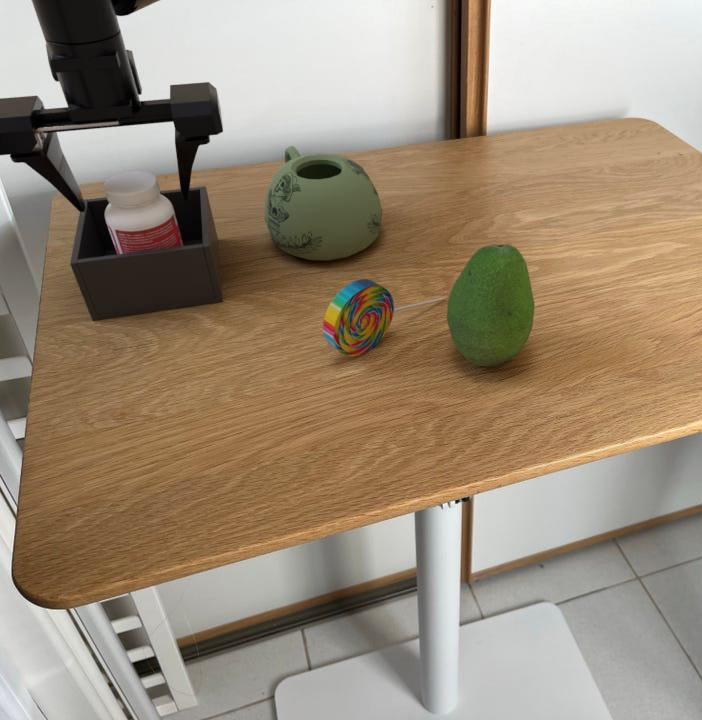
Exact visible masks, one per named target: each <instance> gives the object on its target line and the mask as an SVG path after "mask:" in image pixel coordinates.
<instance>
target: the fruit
mask: <svg viewBox="0 0 702 720" xmlns="http://www.w3.org/2000/svg"><path fill="white" fill-rule="evenodd" d="M446 310H447V312H446V322H447V326H448V329H449V333H450V337H451V339H452V342H453V345H454V346H455V347H456V348H457V350H458V351H459V352H460V353H461V355H462V356H463V357H464V358H465V359H466V360H467V361H468V362H470V363H471V364H473V365H475V366H478V367H487V368H488V367H489V368H490V367H497V366H499V365H501V364H504V363H507V362H508V361H511V360H513V359H514V358H515V357H516V356H517V355H518V354H519V353H520V352H521V351H522V350H523V349H524V348H525V346H526V344H527V342H528V340H529V338H530V335H531V332H532V330H533V326H534V318H535V317H534V315H535V299H534V294H533V289H532V284H531V278H530V274H529V269H528V265H527V262H526V260H525V258H524V255H523V254H522V253H521V252H520V250H519V249H518V248H517V247H515V246H513V245H512V244H508V243H503V244H502V243H501V244H500V243H498V244H495V243H494V244H489V245H485V246H483V247H480V248H479V249H478V250H476V251H475V252H474V253H473V254H472V256H471V257H469V259H468V261H467V263H466V264H465V266H464V267H463V269H462V270H461V272H460V274H459V276H458V278H456V280H455V281H454V283H453V286H452V288H451V291H450V294H449V295H448V301H447V309H446Z"/></svg>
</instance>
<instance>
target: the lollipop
mask: <svg viewBox="0 0 702 720" xmlns="http://www.w3.org/2000/svg"><path fill="white" fill-rule="evenodd" d="M445 300H446V298H445V297H439V298H435V299H431V300H426V301H422V302H419V303H414V304H410V305H404V306H400V307H397V308H395V303H394V299H393V296H392V294H391V292H390V291H389V290H388V289H386V288H385V287H384V286H382V285H380V284H379V283H378V282H375V281H374V280H373V279H365V278H364V279H358V280H355V281H353V282H350V283H348V284H347V285H346V286H344V287H343V288H342V289H340V290H339V291H338V293H336V295H335V296H334V298H333V299H332V300H331V302H330V303H329V305H328V307H327V309H326V311H325V314H324V318H323V322H322V333H323V337H324V340H325V341H326V343H327V344H328V345H329V346H330V347H331V348H333V349H334V350H335V351H337V352H338V353H340V354H341V355H343V356H345V357H352V358H354V357H359V356H362V355H364V354H367V352H369V351H371V350H372V349H374V348H375V347H376V346H377V345H378V344H379V343H380V342H381V340H382V339H383V338H384V336H385V335H386V334H387V332H388V330H389V329H390V326H391V323H392V322H393V321H392V320H393V318H394V313H395V312H398V311H403V310H408V309H411V308H415V307H421V306H425V305H430V304H433V303H438V302H441V301H445Z"/></svg>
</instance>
